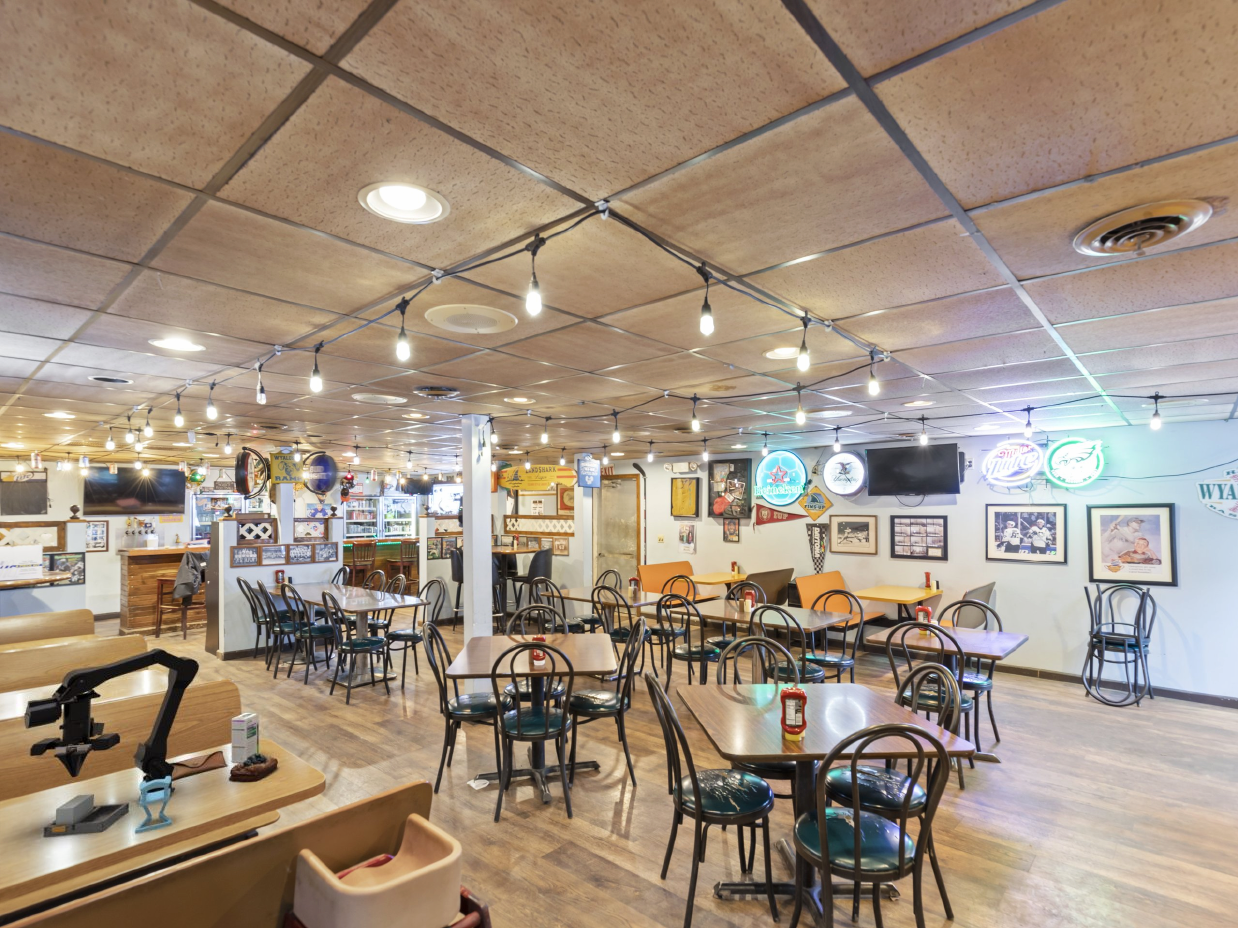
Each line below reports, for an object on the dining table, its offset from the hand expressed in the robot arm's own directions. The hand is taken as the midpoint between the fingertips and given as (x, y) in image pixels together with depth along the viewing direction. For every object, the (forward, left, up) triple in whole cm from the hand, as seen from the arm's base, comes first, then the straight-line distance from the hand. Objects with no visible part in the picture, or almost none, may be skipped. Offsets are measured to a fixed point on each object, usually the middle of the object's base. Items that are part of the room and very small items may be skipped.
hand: (75, 776), depth 170 cm
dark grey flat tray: (-4, +2, -12) cm, 13 cm away
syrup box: (-27, -37, -12) cm, 48 cm away
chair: (-22, +5, -12) cm, 26 cm away
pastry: (-36, -24, -12) cm, 45 cm away
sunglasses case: (-15, -30, -13) cm, 36 cm away
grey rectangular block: (-1, +2, -11) cm, 11 cm away
